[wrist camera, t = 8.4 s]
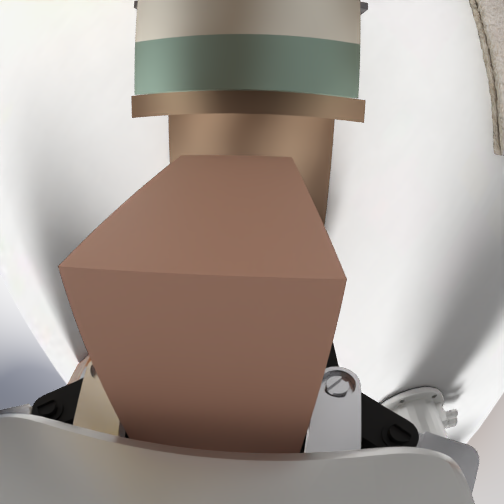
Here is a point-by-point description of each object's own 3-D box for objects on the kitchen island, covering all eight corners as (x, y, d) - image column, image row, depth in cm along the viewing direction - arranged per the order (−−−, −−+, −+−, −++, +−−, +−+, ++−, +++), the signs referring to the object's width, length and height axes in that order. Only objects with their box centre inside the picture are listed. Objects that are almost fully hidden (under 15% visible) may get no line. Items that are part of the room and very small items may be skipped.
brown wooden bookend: (333, 31, 19) (380, -7, 10) (312, 284, 29) (331, 369, 20) (175, 28, 19) (119, -9, 10) (183, 279, 29) (152, 360, 20)
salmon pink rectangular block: (291, 157, 11) (346, 279, 4) (273, 372, 16) (276, 513, 9) (181, 155, 11) (57, 266, 4) (198, 368, 16) (173, 506, 9)
